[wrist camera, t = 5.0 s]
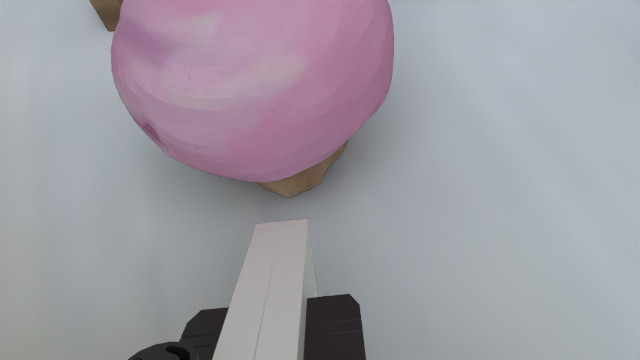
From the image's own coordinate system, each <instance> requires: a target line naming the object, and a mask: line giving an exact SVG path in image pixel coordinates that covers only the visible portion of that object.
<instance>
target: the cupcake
mask: <svg viewBox="0 0 640 360" xmlns="http://www.w3.org/2000/svg"><path fill="white" fill-rule="evenodd" d="M393 56H394V34H393V21H392V15H391V10H390V6H389V4H388V1H387V0H123V2H122V5H121V9H120V19H119V22H118V24H117V27H116V30H115V33H114V36H113V41H112V47H111V64H112V74H113V78H114V83H115V86H116V88H117V90H118V93H119V95H120V97H121V99H122V101H123V103H124V104H125V106H126V108H127V110H128V111H129V113H130V114H131V116H132V117H133V119H134V121H135V122H136V123H137V124H138V125H139V127H140V128H141V129H142V130H143V131H144V132H145V133H146V134H147V135H148V136H149V137H150V139H151V140H153V141H154V142H155V143H156V144H157V145H158V146H159V147H160V148H161V149H162V150H163V151H164V152H165V153H166V154H167V155H168V156H170V157H172V158H174V159H176V160H178V161H179V162H181V163H183V164H186V165H188V166H190V167H193V168H195V169H198V170H201V171H204V172H206V173H209V174H213V175H217V176H221V177H225V178H230V179H235V180H241V181H248V182H257V183H259V184H260V185H261V186H262V187H264V188H265V189H267V190H269V191H272V192H275V193H278V194H280V195H282V196H285V197H292V196H295V195H297V194H298V193H300V192H302V191H307V190H309V189H311V188H313V187H315V186H317V185H319V184H320V183H321V181H322V179H323V176H324V174H325V172H326V171H327V169H328V168H329V166H330V165H331V164H332V163H333V162H334V161H335V160H336V159H337V158H338V157H339V156H340V155H341V154H342V152H343V150H344V149H345V147H346V144H347V142H348V139H349V138H350V137H351V136H352V135H353V134H354V133H355V132H356V131H357V130H358V129H359V128H360V127H361V126H362V125H363V123H364V122H365V121H366V120H367V119H368V118H369V117H370V116H371V115H372V114H374V113H375V112H376V111H377V110H378V108H379V107H380V105H381V104H382V102H383V101H384V99H385V97H386V95H387V93H388V90H389V87H390V83H391V78H392V70H393Z"/></svg>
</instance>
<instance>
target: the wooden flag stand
mask: <svg viewBox="0 0 640 360" xmlns="http://www.w3.org/2000/svg"><path fill="white" fill-rule="evenodd" d="M90 2H91V4H92V5H93V7H94V8H95V10H96V12H97V13H98V15H99V17H100V18H101V20H102V22H103V23H104V25H105V26H106V28H107V30H108V31H115V30H116V27H117V24H118V22H119V19H120V9H121V5H122V2H123V0H90Z"/></svg>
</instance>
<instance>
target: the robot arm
mask: <svg viewBox="0 0 640 360" xmlns="http://www.w3.org/2000/svg"><path fill="white" fill-rule="evenodd" d="M128 360H366V356H365V348H364V339H363V331H362V322H361V314H360V305H359V304H358V303H357V302H356V300H355V299H354V298H353V297H352V296H351V295H350V294H345V295H334V296H324V297H318V290H317V282H316V275H315V267H314V259H313V251H312V244H311V236H310V228H309V220H308V218H306V219H296V220H287V221H277V222H267V223H258V224H256V226H255V229H254V232H253V235H252V238H251V241H250V245H249V248H248V251H247V254H246V257H245V260H244V263H243V266H242V269H241V272H240V275H239V278H238V281H237V285H236V288H235V291H234V294H233V297H232V300H231V303H230V306H229V307H228V308H217V309H207V310H201V311H200V312H199V313H198V314H197V315H195V316H194V317H193V318H192V319H191V320H190V321H189V322H188V323H187V325H186V327H185V330H184V332H183V334H182V336H181V339H180V341H179V342H166V343H161V344H156V345H153V346H151V347H148V348H146V349H143V350H141V351H139V352H138V353H136V354H135V355H133V356H132V357H130V358H129V359H128Z"/></svg>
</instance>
